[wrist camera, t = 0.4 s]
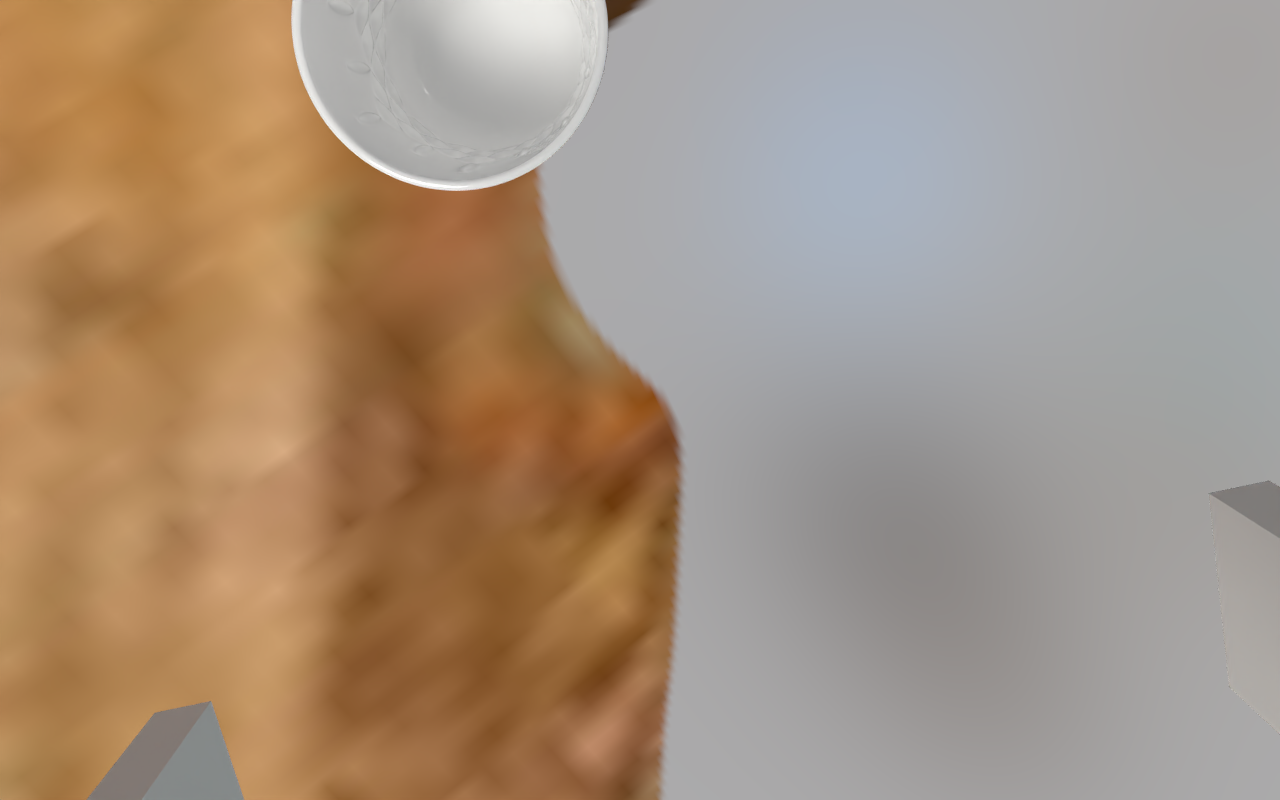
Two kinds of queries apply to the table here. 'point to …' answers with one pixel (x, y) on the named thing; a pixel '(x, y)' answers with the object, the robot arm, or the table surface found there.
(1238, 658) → the robot arm
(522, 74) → the white cup
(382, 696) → the table surface
